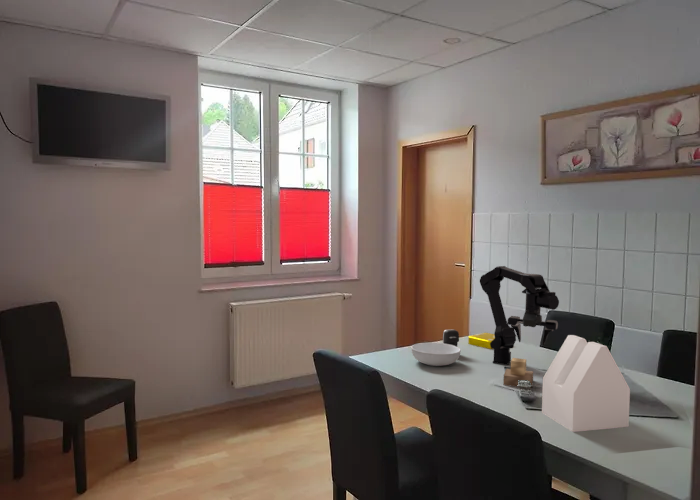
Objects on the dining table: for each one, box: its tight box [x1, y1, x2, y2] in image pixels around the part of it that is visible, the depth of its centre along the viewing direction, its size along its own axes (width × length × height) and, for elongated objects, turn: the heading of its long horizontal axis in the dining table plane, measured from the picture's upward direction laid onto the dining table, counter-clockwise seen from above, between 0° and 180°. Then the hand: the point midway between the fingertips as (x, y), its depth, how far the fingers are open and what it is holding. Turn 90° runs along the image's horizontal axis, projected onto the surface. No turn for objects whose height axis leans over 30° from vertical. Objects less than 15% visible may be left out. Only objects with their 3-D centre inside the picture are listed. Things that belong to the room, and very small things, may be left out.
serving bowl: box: [410, 342, 461, 367], centre depth 225 cm, size 21×21×7 cm
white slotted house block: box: [541, 334, 631, 433], centre depth 162 cm, size 19×15×25 cm
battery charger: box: [442, 329, 460, 347], centre depth 239 cm, size 7×4×11 cm, turn 105°
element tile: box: [467, 332, 495, 350], centre depth 260 cm, size 15×15×5 cm
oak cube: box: [510, 357, 527, 376], centre depth 199 cm, size 5×5×5 cm
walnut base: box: [502, 368, 534, 387], centre depth 199 cm, size 10×10×4 cm
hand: (531, 343), depth 213 cm, fingers open, 9 cm apart
